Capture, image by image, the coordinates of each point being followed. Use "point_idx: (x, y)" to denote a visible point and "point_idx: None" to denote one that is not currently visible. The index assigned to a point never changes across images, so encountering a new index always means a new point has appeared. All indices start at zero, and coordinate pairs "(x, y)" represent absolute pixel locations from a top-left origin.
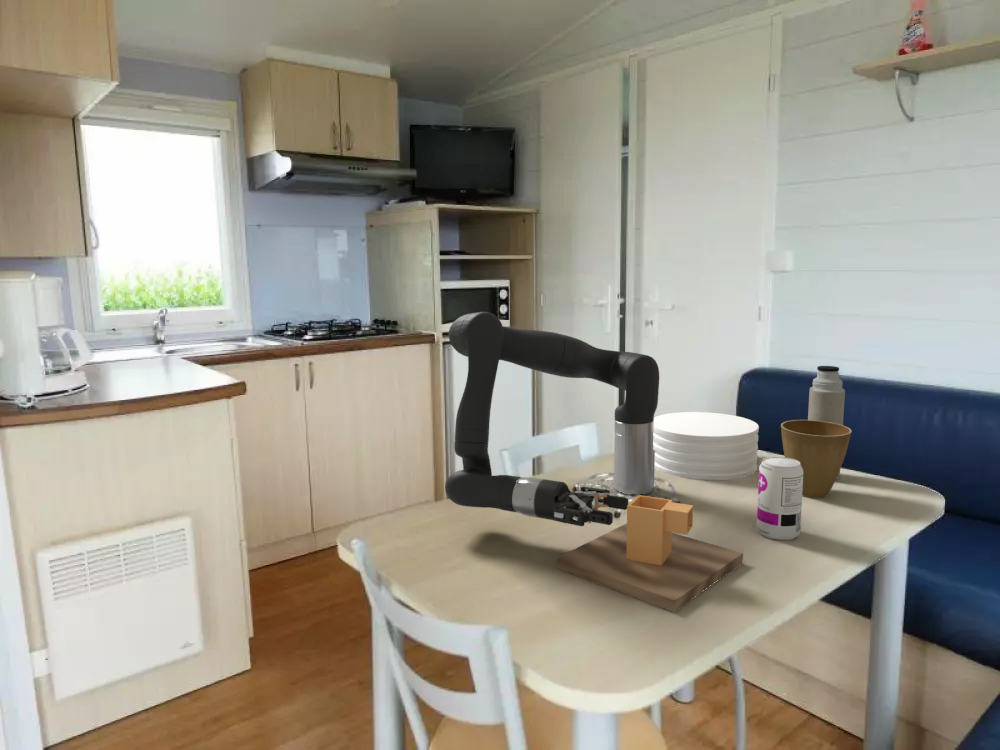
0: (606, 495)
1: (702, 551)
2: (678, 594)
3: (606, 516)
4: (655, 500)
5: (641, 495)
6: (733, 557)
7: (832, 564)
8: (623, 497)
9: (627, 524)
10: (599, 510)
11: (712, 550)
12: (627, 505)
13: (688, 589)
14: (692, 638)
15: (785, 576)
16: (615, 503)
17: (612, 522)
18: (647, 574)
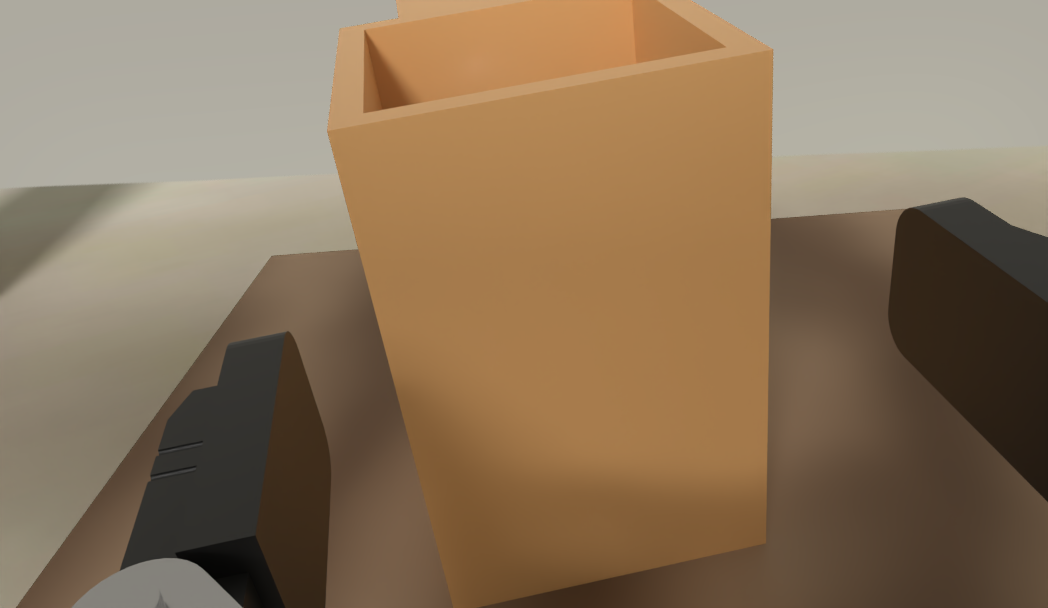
0: (214, 593)
1: (334, 335)
2: (892, 218)
3: (1024, 231)
4: (368, 84)
5: (336, 114)
6: (341, 256)
7: (177, 192)
8: (236, 365)
9: (767, 259)
10: (1036, 288)
11: (295, 319)
12: (762, 50)
13: (808, 219)
14: (1037, 178)
15: (342, 213)
16: (306, 521)
17: (894, 316)
18: (852, 355)
